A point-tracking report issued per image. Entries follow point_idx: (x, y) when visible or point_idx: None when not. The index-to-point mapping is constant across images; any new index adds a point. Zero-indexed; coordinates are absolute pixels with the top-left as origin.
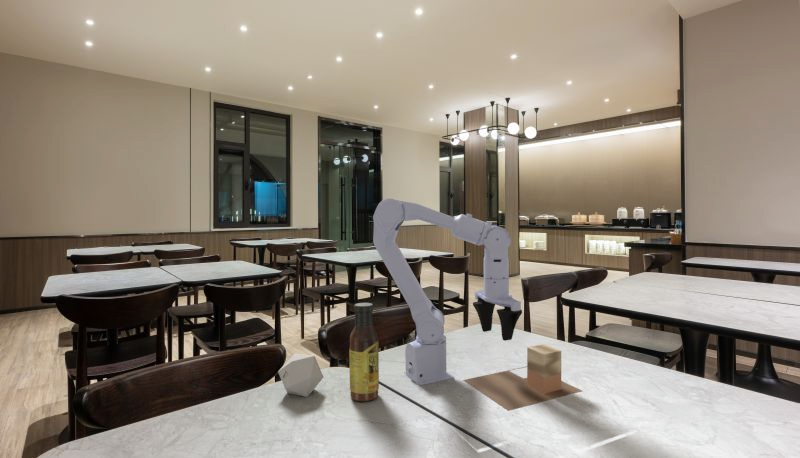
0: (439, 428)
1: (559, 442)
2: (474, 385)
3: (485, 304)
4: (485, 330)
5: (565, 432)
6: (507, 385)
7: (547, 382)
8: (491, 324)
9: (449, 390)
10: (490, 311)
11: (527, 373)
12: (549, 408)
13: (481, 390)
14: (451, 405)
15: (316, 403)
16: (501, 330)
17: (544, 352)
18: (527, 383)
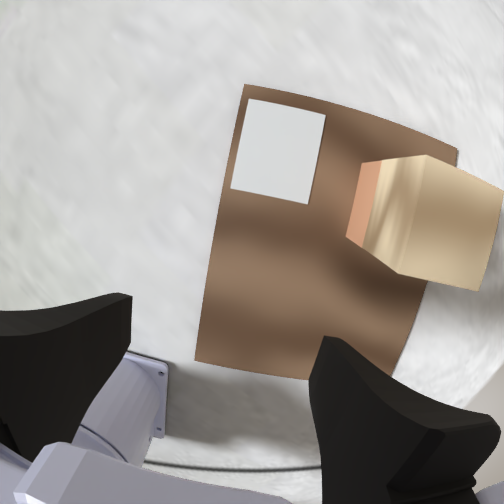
0: (320, 480)
1: (478, 374)
2: (242, 362)
3: (31, 446)
4: (128, 338)
5: (481, 346)
6: (306, 290)
7: None
8: (114, 306)
9: (217, 409)
10: (56, 358)
11: (358, 245)
12: (440, 297)
13: (278, 370)
14: (278, 442)
15: None
16: (316, 426)
17: (474, 268)
18: (347, 237)
